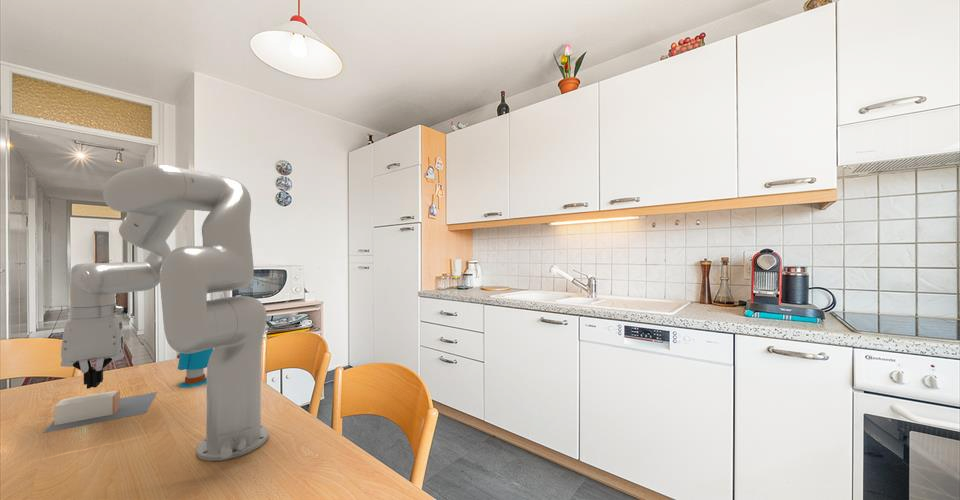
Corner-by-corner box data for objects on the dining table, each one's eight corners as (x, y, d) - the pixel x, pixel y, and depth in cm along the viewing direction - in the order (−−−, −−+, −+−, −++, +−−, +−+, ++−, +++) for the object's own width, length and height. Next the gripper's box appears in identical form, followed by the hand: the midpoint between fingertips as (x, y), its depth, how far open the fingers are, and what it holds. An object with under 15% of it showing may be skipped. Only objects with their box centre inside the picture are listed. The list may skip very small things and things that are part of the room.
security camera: (209, 317, 106) (169, 318, 103) (209, 387, 106) (169, 390, 103) (220, 312, 114) (183, 313, 111) (220, 377, 114) (183, 380, 111)
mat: (145, 414, 88) (145, 413, 88) (42, 434, 79) (42, 433, 79) (157, 393, 102) (157, 391, 102) (70, 408, 92) (70, 406, 92)
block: (114, 396, 88) (54, 406, 82) (114, 414, 88) (54, 425, 82) (119, 390, 92) (62, 399, 86) (119, 407, 92) (62, 417, 86)
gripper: (138, 307, 95) (138, 375, 95) (54, 313, 86) (54, 388, 86) (131, 312, 89) (131, 384, 89) (40, 318, 80) (40, 398, 80)
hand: (93, 386), depth 87 cm, fingers closed
